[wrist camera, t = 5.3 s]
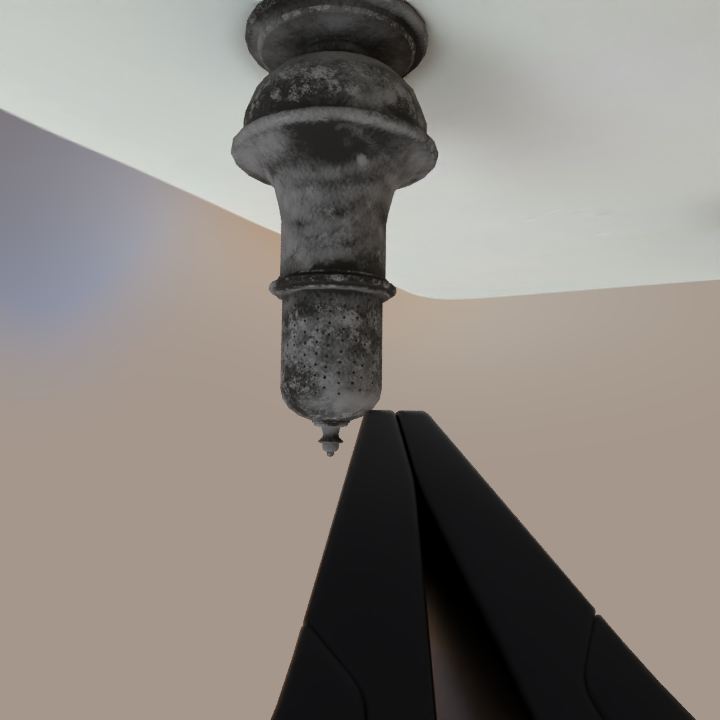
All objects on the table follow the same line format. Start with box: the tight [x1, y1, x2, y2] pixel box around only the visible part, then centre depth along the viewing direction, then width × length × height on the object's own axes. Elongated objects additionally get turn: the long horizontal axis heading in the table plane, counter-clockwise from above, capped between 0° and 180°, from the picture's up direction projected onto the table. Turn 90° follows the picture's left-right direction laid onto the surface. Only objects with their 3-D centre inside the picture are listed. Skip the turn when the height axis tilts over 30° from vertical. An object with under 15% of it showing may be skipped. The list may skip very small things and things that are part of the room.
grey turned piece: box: [231, 0, 438, 457], centre depth 18 cm, size 6×6×12 cm
